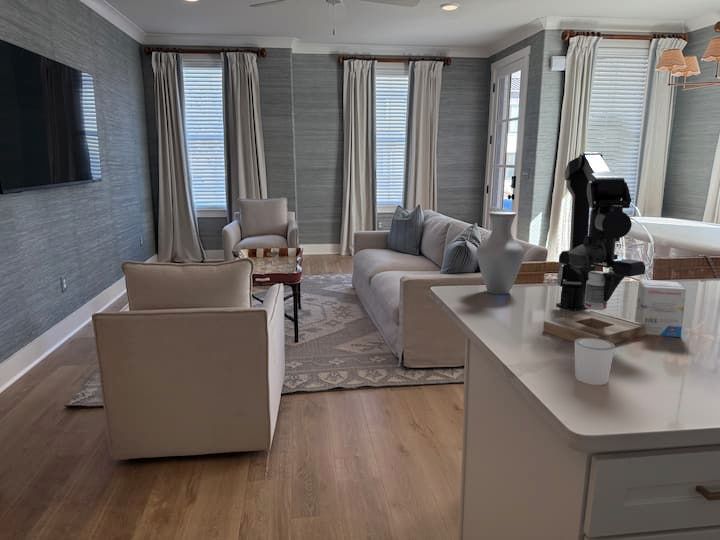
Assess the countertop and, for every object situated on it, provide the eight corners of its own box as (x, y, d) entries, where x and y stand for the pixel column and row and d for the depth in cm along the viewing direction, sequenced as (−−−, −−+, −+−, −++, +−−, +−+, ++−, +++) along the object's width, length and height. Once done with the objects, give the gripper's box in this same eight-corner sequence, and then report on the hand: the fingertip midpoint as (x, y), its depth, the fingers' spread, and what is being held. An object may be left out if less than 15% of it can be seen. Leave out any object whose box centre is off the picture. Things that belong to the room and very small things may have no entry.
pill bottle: (608, 311, 117) (612, 275, 116) (586, 309, 118) (590, 274, 116) (603, 305, 122) (606, 271, 120) (582, 304, 123) (585, 270, 121)
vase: (474, 285, 169) (477, 210, 164) (519, 287, 166) (524, 210, 161) (475, 296, 155) (478, 214, 150) (524, 299, 152) (530, 215, 147)
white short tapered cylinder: (565, 372, 99) (567, 337, 97) (599, 370, 99) (602, 336, 98) (583, 387, 92) (586, 350, 91) (619, 385, 93) (623, 349, 91)
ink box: (672, 327, 126) (678, 280, 123) (681, 338, 118) (687, 288, 115) (633, 323, 128) (638, 278, 126) (639, 334, 121) (644, 286, 118)
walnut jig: (592, 320, 131) (593, 310, 131) (645, 335, 119) (646, 324, 119) (543, 331, 123) (543, 320, 122) (594, 349, 111) (595, 337, 110)
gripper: (545, 229, 121) (540, 294, 124) (617, 240, 105) (610, 313, 108) (577, 226, 126) (571, 288, 129) (650, 236, 110) (642, 306, 113)
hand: (596, 298), depth 120 cm, fingers closed on pill bottle, 5 cm apart
